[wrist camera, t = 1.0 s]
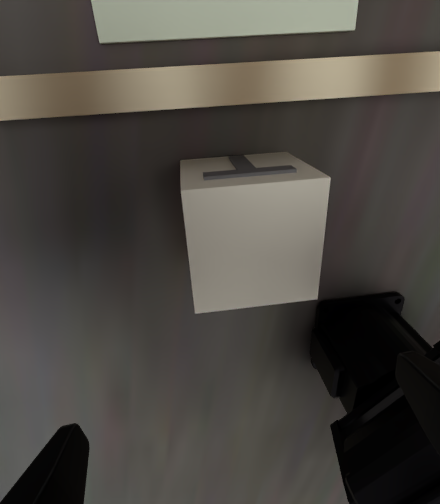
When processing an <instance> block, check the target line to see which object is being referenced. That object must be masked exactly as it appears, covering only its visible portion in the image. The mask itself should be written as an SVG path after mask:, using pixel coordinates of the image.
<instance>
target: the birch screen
mask: <svg viewBox="0 0 440 504" xmlns="http://www.w3.org/2000/svg"><path fill="white" fill-rule="evenodd" d="M434 91H440V51H437V52H420V53H402V54H385V55H367V56H350V57H332V58H315V59H297V60H280V61H262V62H245V63H227V64H210V65H192V66H175V67H157V68H140V69H122V70H105V71H87V72H70V73H52V74H35V75H17V76H0V121H4V120H19V119H34V118H49V117H64V116H78V115H93V114H108V113H123V112H138V111H152V110H167V109H182V108H197V107H212V106H226V105H241V104H256V103H271V102H286V101H300V100H315V99H330V98H345V97H360V96H374V95H389V94H404V93H419V92H434Z"/></svg>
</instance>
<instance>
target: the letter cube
mask: <svg viewBox="0 0 440 504" xmlns="http://www.w3.org/2000/svg"><path fill="white" fill-rule="evenodd" d="M180 180H181V197H182V206H183V214H184V223H185V232H186V240H187V249H188V257H189V266H190V274H191V283H192V292H193V300H194V309H195V314H198V313H206V312H215V311H223V310H231V309H240V308H248V307H257V306H265V305H274V304H282V303H290V302H299V301H307V300H316V299H318V290H319V280H320V271H321V262H322V253H323V244H324V235H325V226H326V217H327V208H328V198H329V189H330V180H331V177H329V176H327V175H326V174H324V173H322V172H321V171H319V170H317V169H315V168H314V167H312V166H310V165H308V164H307V163H305V162H303V161H302V160H300V159H298V158H296V157H295V156H293V155H291V154H289V153H288V152H275V153H262V154H250V155H235V156H225V157H212V158H200V159H187V160H180Z"/></svg>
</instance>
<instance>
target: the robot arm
mask: <svg viewBox="0 0 440 504" xmlns="http://www.w3.org/2000/svg"><path fill="white" fill-rule="evenodd" d="M396 299H397V300H396ZM403 304H404V297H403V296H402V295H401V294H400V293H389V294H381V295H372V296H364V297H356V298H347V299H339V300H330V301H323V302H321V303H319V305H318V306H317V313H316V322H315V328H314V329H313V330H312V337H311V346H310V355H311V357H312V358H311V363H312V365H313V367H314V368H315V369H317V370H318V372H319V374H320V376H321V378H322V380H323V382H324V384H325V386H326V388H327V390H328V392H329V394H330V396H332V397H333V398H339V399H340V401H341V403H342V405H343V406H344V408H345V410H346V412H347V415H345V416H344V417H343V418H341V419H340V420H339V421H338V420H336V421H335V422H334V423H332V424H331V425H330V427H331V431H332V435H333V440H334V444H335V449H336V453H337V457H338V462H339V466H340V471H341V475H342V479H343V484H344V487H345V491H346V495H347V499H348V502H349V504H440V341H439V342H437V343H436V344H435V345H434V348H432V347H431V346H430V345H429V344H428V343H427V342H426V341H425V340H424V339H423V338H422V337H421V336H420V335H419V334H418V333H417V332H416V331H415V330H414V329H413V328H412V327H411V326H410V325H409V324H408V323H407V322H406V321H405V319H404V318H403V317H402V316H401V311H402V308H403ZM326 307H327V308H326ZM324 308H326V309H324ZM323 309H324V310H323ZM88 457H89V441H88V439H87V437H86V436H85V434H84V433H83V431H82V429H81V428H80V426H79V425H78V424H76V423H73V424H69V425H64V426H62V427H60V428H59V429H58V430H57V432H56V433H55V434H54V435H53V437H52V438H51V439H50V440H49V442H48V443H47V444H46V445H45V447H44V448H43V449H42V451H41V452H40V453H39V454H38V456H37V457H36V458H35V459H34V461H33V462H32V463H31V464H30V466H29V467H28V468H27V469H26V471H25V472H24V473H23V474H22V476H21V477H20V478H19V479H18V481H17V482H16V483H15V484H14V486H13V487H12V488H11V490H10V491H9V492H8V493H7V495H6V496H5V497H4V498H3V500H2V501H1V502H0V504H84V495H85V485H86V476H87V467H88Z"/></svg>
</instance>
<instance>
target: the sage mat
mask: <svg viewBox="0 0 440 504" xmlns="http://www.w3.org/2000/svg"><path fill="white" fill-rule="evenodd" d="M91 3H92V8H93V13H94V18H95V23H96V28H97V33H98V38H99V43H100V44H111V43H131V42H151V41H170V40H190V39H210V38H229V37H249V36H269V35H289V34H308V33H328V32H348V31H353V30H355V25H356V16H357V8H358V0H91Z"/></svg>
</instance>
